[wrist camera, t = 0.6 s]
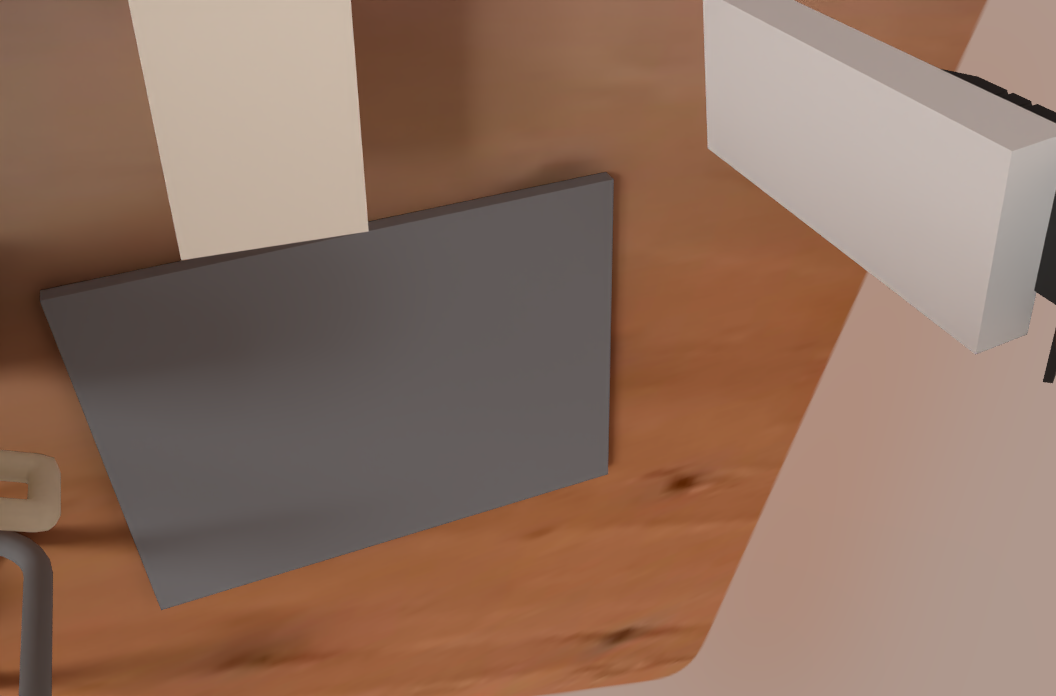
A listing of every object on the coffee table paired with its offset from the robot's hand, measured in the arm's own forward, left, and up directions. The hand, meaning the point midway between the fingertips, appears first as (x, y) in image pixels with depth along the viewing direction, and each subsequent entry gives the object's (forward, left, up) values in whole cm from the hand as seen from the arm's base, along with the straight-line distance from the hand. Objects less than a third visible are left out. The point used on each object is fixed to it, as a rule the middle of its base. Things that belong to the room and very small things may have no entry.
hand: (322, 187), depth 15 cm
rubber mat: (+4, -22, -23) cm, 32 cm away
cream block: (+1, -2, -23) cm, 23 cm away
